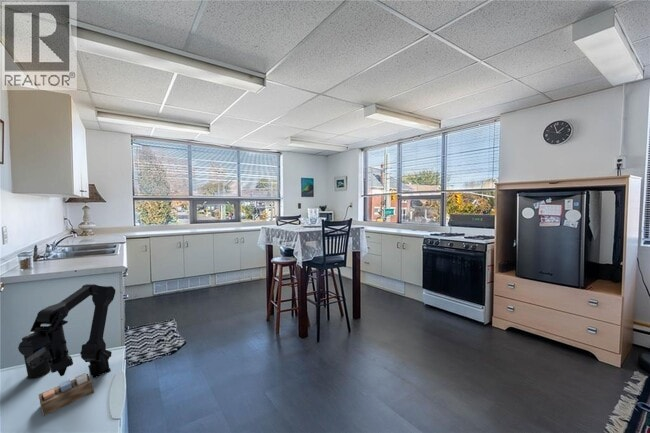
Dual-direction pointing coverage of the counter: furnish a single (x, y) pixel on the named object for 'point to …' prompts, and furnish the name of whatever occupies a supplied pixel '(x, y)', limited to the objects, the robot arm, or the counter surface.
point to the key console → (66, 396)
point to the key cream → (81, 379)
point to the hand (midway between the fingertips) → (62, 375)
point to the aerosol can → (37, 368)
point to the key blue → (65, 386)
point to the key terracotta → (48, 394)
